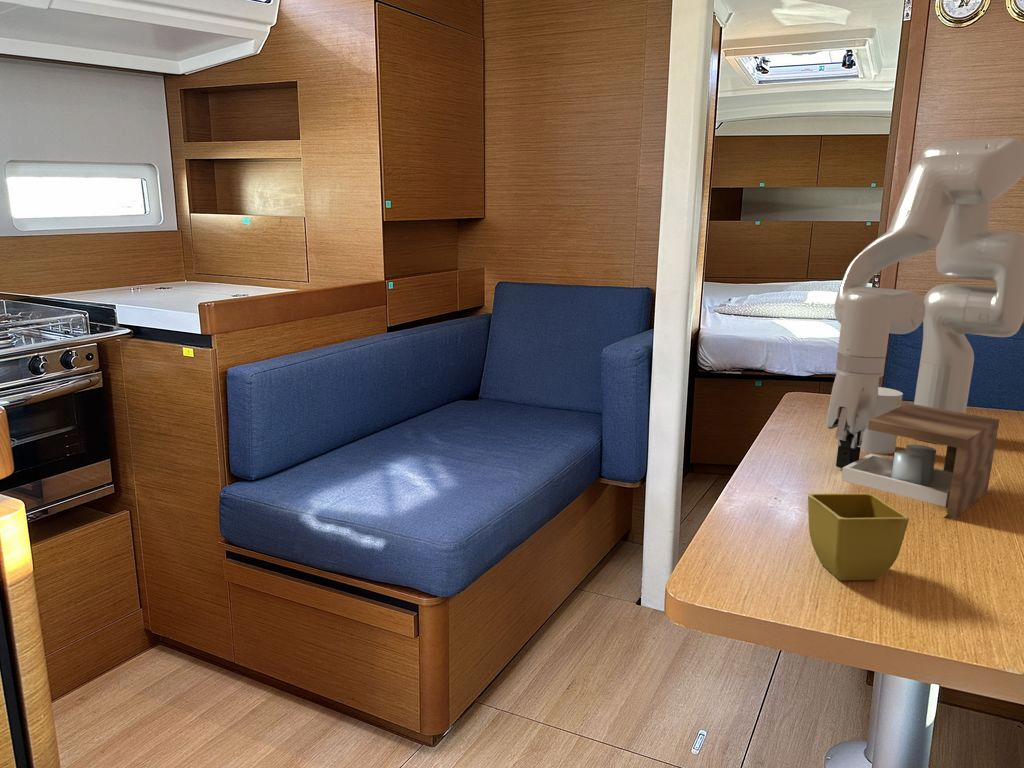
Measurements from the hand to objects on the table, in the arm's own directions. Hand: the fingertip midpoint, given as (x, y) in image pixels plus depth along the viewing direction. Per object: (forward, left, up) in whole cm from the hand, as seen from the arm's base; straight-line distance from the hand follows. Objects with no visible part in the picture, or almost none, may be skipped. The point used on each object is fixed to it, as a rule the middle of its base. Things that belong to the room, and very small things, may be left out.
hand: (846, 467), depth 134 cm
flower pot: (+39, +16, -2) cm, 42 cm away
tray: (0, +10, -1) cm, 10 cm away
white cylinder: (-18, -2, -2) cm, 18 cm away
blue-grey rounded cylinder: (+3, +11, -1) cm, 11 cm away
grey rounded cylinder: (-3, +11, 0) cm, 11 cm away
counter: (0, +13, -1) cm, 13 cm away
